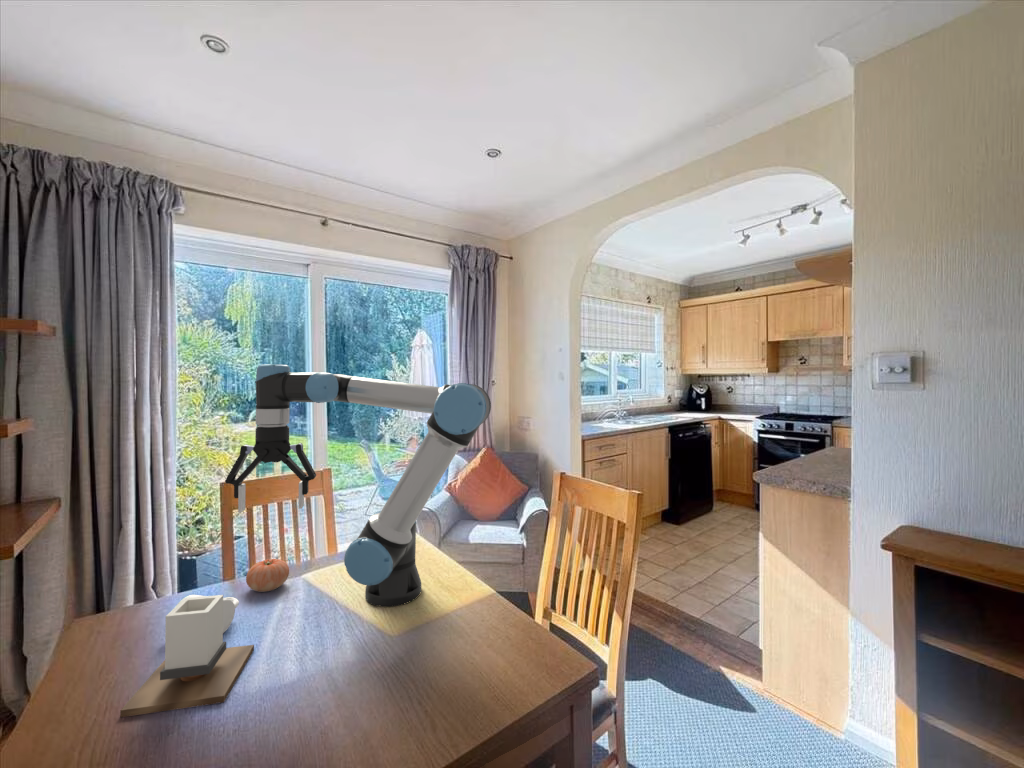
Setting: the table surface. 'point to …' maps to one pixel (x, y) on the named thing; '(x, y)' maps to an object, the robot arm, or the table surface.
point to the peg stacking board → (189, 686)
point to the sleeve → (193, 632)
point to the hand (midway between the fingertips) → (272, 509)
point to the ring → (193, 667)
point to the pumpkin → (267, 575)
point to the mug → (224, 609)
